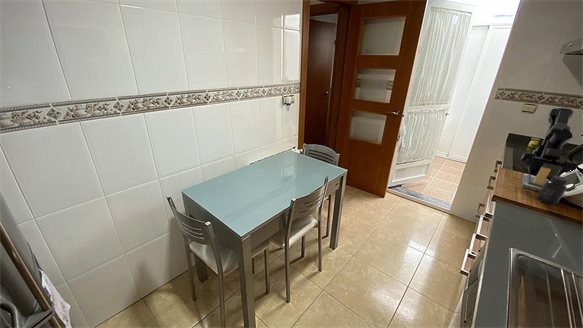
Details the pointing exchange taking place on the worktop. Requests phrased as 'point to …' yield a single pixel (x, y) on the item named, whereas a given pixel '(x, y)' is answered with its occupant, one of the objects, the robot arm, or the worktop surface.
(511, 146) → the worktop surface
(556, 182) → the supplement bottle
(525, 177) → the grey rail base
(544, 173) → the handle
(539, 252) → the worktop surface
